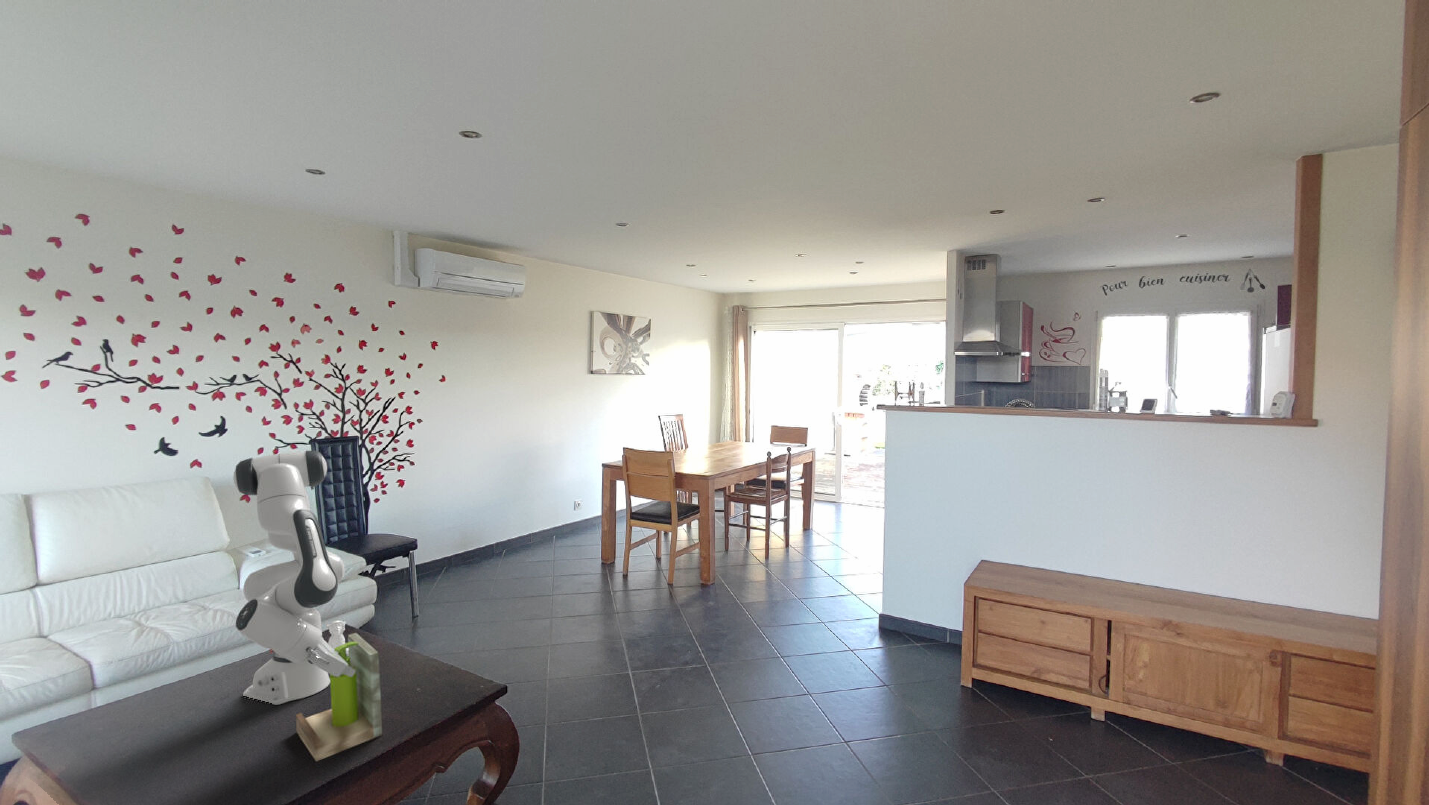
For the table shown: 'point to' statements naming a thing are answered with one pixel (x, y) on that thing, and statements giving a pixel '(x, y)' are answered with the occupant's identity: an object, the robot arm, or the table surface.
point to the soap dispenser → (344, 693)
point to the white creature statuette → (337, 635)
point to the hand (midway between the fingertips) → (347, 667)
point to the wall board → (332, 739)
